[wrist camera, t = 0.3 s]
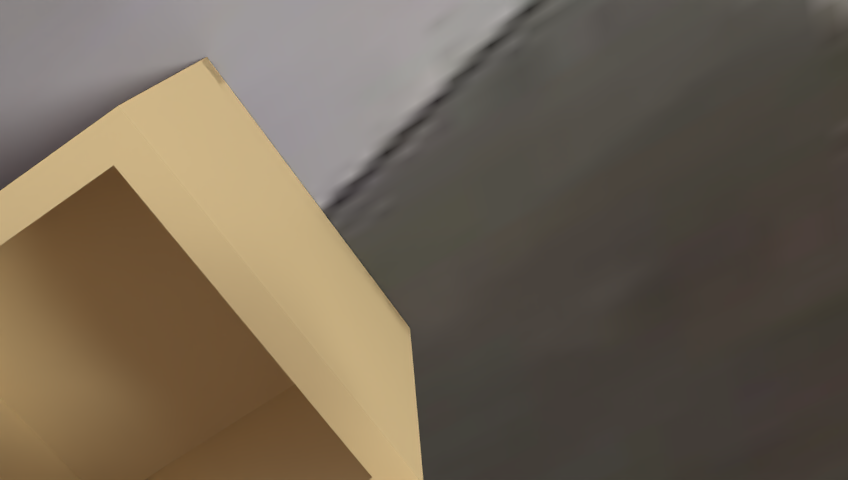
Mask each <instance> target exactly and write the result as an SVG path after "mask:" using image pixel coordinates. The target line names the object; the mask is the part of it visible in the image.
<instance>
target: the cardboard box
mask: <svg viewBox="0 0 848 480" xmlns="http://www.w3.org/2000/svg"><path fill="white" fill-rule="evenodd" d="M0 480H423V472H422V461H421V449H420V438H419V426H418V415H417V404H416V392H415V381H414V369H413V358H412V346H411V335H410V328H409V326H408V325H407V324H406V322H405V321H404V320H403V318H402V317H401V316H400V314H399V313H398V312H397V310H396V309H395V308H394V306H393V305H392V304H391V302H390V301H389V300H388V298H387V297H386V296H385V294H384V293H383V292H382V290H381V289H380V288H379V286H378V285H377V284H376V282H375V281H374V280H373V278H372V277H371V276H370V274H369V273H368V272H367V270H366V269H365V268H364V266H363V265H362V264H361V262H360V261H359V260H358V258H357V257H356V256H355V254H354V253H353V252H352V250H351V249H350V248H349V246H348V245H347V244H346V242H345V241H344V240H343V238H342V237H341V236H340V234H339V233H338V232H337V230H336V229H335V228H334V226H333V225H332V224H331V222H330V221H329V220H328V218H327V217H326V216H325V214H324V213H323V212H322V210H321V209H320V208H319V206H318V205H317V204H316V202H315V201H314V200H313V198H312V197H311V196H310V194H309V193H308V192H307V190H306V189H305V188H304V186H303V185H302V184H301V182H300V181H299V180H298V178H297V177H296V176H295V174H294V173H293V172H292V170H291V169H290V168H289V166H288V165H287V164H286V162H285V161H284V160H283V158H282V157H281V156H280V154H279V153H278V152H277V150H276V149H275V148H274V146H273V145H272V144H271V142H270V141H269V140H268V138H267V137H266V136H265V134H264V133H263V131H262V130H261V129H260V127H259V126H258V125H257V123H256V122H255V121H254V119H253V118H252V117H251V115H250V114H249V113H248V111H247V110H246V109H245V107H244V106H243V105H242V103H241V102H240V101H239V99H238V98H237V97H236V95H235V94H234V93H233V91H232V90H231V89H230V87H229V86H228V85H227V83H226V82H225V81H224V79H223V78H222V77H221V75H220V74H219V73H218V71H217V70H216V69H215V67H214V66H213V65H212V63H211V62H210V61H209V59H208V58H207V57H206V58H204V59H202V60H200V61H199V62H197V63H195V64H193V65H191V66H189V67H188V68H186V69H184V70H182V71H180V72H179V73H177V74H175V75H173V76H171V77H169V78H168V79H166V80H164V81H162V82H160V83H159V84H157V85H155V86H153V87H151V88H149V89H148V90H146V91H144V92H142V93H140V94H139V95H137V96H135V97H133V98H131V99H129V100H128V101H126V102H124V103H122V104H120V105H118V106H117V107H116V108H114V109H113V110H112V111H110V112H109V113H107V114H106V115H105V116H103V117H102V118H100V119H99V120H98V121H96V122H95V123H94V124H92V125H91V126H89V127H88V128H87V129H85V130H84V131H82V132H81V133H80V134H78V135H77V136H75V137H74V138H73V139H71V140H70V141H69V142H67V143H66V144H64V145H63V146H62V147H60V148H59V149H57V150H56V151H55V152H53V153H52V154H50V155H49V156H48V157H46V158H45V159H44V160H42V161H41V162H39V163H38V164H37V165H35V166H34V167H32V168H31V169H30V170H28V171H27V172H26V173H24V174H23V175H21V176H20V177H19V178H17V179H16V180H14V181H13V182H12V183H10V184H9V185H7V186H6V187H5V188H3V189H2V190H1V191H0Z"/></svg>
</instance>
